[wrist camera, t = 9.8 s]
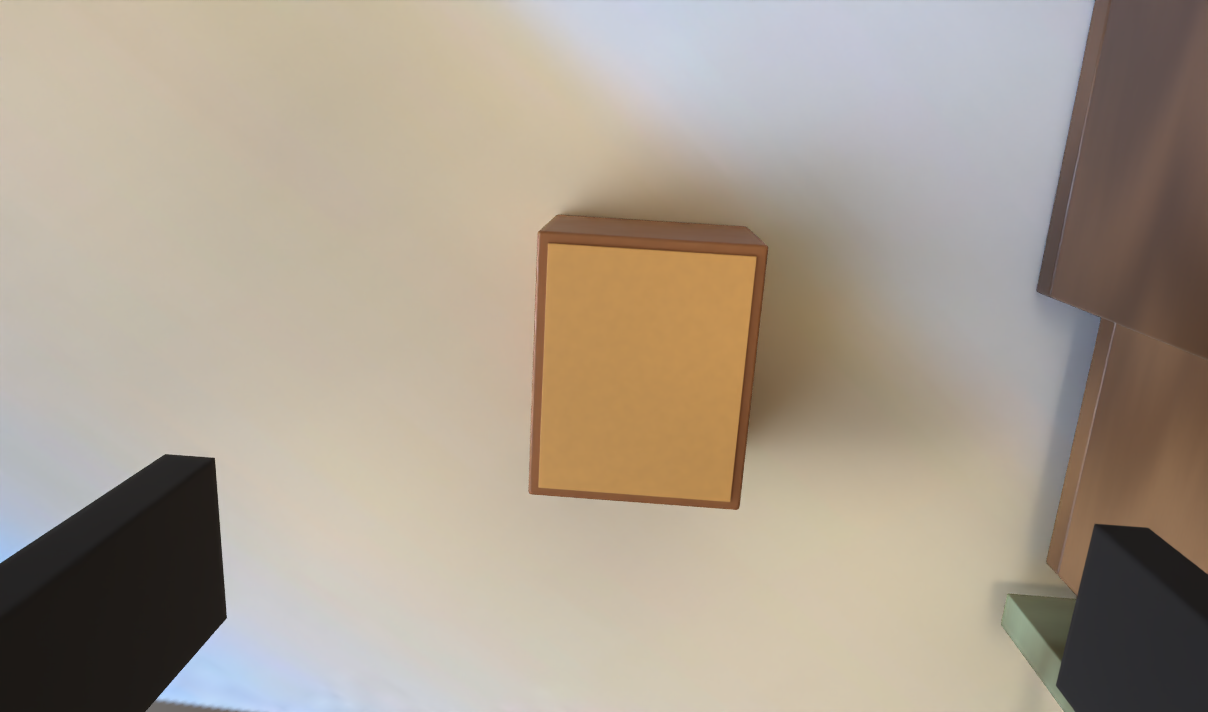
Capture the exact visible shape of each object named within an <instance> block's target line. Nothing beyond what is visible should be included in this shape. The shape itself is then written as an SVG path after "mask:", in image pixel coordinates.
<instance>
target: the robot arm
mask: <svg viewBox="0 0 1208 712" xmlns="http://www.w3.org/2000/svg"><path fill="white" fill-rule="evenodd" d="M226 618H227V615H226V601H225V588H224V575H223V561H222V548H221V534H220V521H219V508H218V494H217V481H216V468H215V458H208V457H195V456H181V455H168V454H165V455H163V456H162V457H160V458H159V459H157V460H156V461H154V462H153V463H151V464H150V465H148V466H147V467H145V468H144V469H142V470H141V471H139V472H138V473H136V474H135V475H133V476H132V477H130V478H129V479H127V480H126V481H124V482H123V483H121V484H120V485H118V486H117V487H115V488H113V489H112V490H110V491H109V492H107V493H106V494H104V495H103V496H101V497H100V498H98V499H97V500H95V501H94V502H92V503H91V504H89V505H88V506H86V507H85V508H83V509H82V510H80V511H79V512H77V513H76V514H74V515H73V516H71V517H70V518H68V519H67V520H65V521H64V522H62V523H61V524H59V525H58V526H56V527H55V528H53V529H52V530H50V531H48V532H47V533H45V534H44V535H42V536H41V537H39V538H38V539H36V540H35V541H33V542H32V543H30V544H29V545H27V546H26V547H24V548H23V549H21V550H20V551H18V552H17V553H15V554H14V555H12V556H11V557H9V558H8V559H6V560H5V561H3V562H2V563H0V712H145V711H146V710H147V709H148V708H149V707H150V706H151V704H152V703H153V702H154V701H155V700H156V699H157V698H158V696H159V695H160V694H161V693H162V692H163V691H164V690H165V688H166V687H167V686H168V685H169V684H170V683H171V682H172V680H173V679H174V678H175V677H176V676H177V675H178V673H179V672H180V671H181V670H182V669H183V668H184V667H185V665H186V664H187V663H188V662H189V661H190V660H191V659H192V657H193V656H194V655H195V654H196V653H197V652H198V651H199V649H200V648H201V647H202V646H203V645H204V644H205V642H206V641H207V640H208V639H209V638H210V637H211V636H212V634H213V633H214V632H215V631H216V630H217V629H218V628H219V626H220V625H221V624H222V623H223V622H224V621H225V620H226ZM1056 687H1057V688H1058V689H1059V691H1060V692H1061V693H1062V695H1063V696H1064V697H1065V699H1066V700H1067V701H1068V703H1069V704H1070V705H1071V707H1072V708H1073V710H1074V711H1075V712H1208V574H1207V573H1205V572H1204V571H1203V570H1202V569H1200V568H1199V567H1198V566H1197V565H1195V564H1194V563H1193V562H1191V561H1190V560H1189V559H1188V558H1186V557H1185V556H1184V555H1182V554H1181V553H1180V552H1179V551H1177V550H1176V549H1175V548H1173V547H1172V546H1171V545H1170V544H1168V543H1167V542H1166V541H1165V540H1163V539H1162V538H1161V537H1159V536H1158V535H1157V534H1156V533H1154V532H1153V531H1152V530H1150V529H1149V528H1146V527H1132V526H1119V525H1106V524H1094V528H1093V532H1092V536H1091V540H1090V545H1089V549H1088V553H1087V557H1086V561H1085V565H1084V570H1083V574H1082V578H1081V582H1080V586H1079V590H1078V595H1077V599H1076V603H1075V607H1074V611H1073V615H1072V620H1071V624H1070V628H1069V632H1068V636H1067V641H1066V645H1065V649H1064V653H1063V657H1062V661H1061V666H1060V670H1059V674H1058V678H1057V682H1056Z"/></svg>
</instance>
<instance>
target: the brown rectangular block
mask: <svg viewBox="0 0 1208 712" xmlns="http://www.w3.org/2000/svg"><path fill="white" fill-rule="evenodd" d="M767 255H768V246H767V245H766V244H765V243H764V242H763V241H762V240H760V239H759V238H758V237H757V236H756V235H755V234H754V233H753V232H752V231H751V230H750V229H748V228H747V227H744V226H728V225H712V224H697V223H681V222H665V221H649V220H633V219H618V218H602V217H586V216H570V215H556V216H555V217H554V218H553V219H552V220H551V221H550V222H549V223H548V224H546V225H545V226H544V227H543V228H542V229H541V230H540V231H539V232H538V239H537V267H536V295H535V323H534V351H533V379H532V406H531V434H530V462H529V490H528V491H529V494H534V495H548V496H561V497H574V498H588V499H601V500H614V501H628V502H641V503H654V504H668V505H681V506H694V507H708V508H721V509H734V510H737V509H739V507H740V498H741V489H742V480H743V471H744V462H745V453H746V444H747V435H748V426H749V417H750V408H751V399H752V390H753V381H754V372H755V363H756V354H757V345H758V336H759V327H760V318H761V309H762V300H763V291H764V282H765V273H766V264H767Z"/></svg>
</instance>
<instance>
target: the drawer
mask: <svg viewBox="0 0 1208 712" xmlns="http://www.w3.org/2000/svg"><path fill="white" fill-rule="evenodd" d="M1094 524H1106V525H1119V526H1132V527H1146V528H1149V529H1150V530H1152V531H1153V532H1154V533H1156V534H1157V535H1158V536H1159V537H1161V538H1162V539H1163V540H1165V541H1166V542H1167V543H1168V544H1170V545H1171V546H1172V547H1173V548H1175V549H1176V550H1177V551H1179V552H1180V553H1181V554H1182V555H1184V556H1185V557H1186V558H1188V559H1189V560H1190V561H1191V562H1193V563H1194V564H1195V565H1197V566H1198V567H1199V568H1200V569H1202V570H1203V571H1204V572H1205V573H1207V574H1208V360H1205V359H1203V358H1200V357H1198V356H1196V355H1193V354H1191V353H1188V352H1186V351H1183V350H1181V349H1178V348H1176V347H1173V346H1171V345H1168V344H1166V343H1163V342H1161V341H1158V340H1156V339H1153V338H1151V337H1148V336H1146V335H1143V334H1141V333H1138V332H1136V331H1133V330H1131V329H1128V328H1126V327H1123V326H1121V325H1118V324H1116V323H1113V322H1111V321H1108V320H1106V319H1103V318H1101V321H1100V326H1099V330H1098V334H1097V339H1096V343H1095V348H1094V352H1093V357H1092V361H1091V365H1090V370H1089V374H1088V379H1087V383H1086V388H1085V392H1084V396H1083V401H1082V405H1081V410H1080V414H1079V419H1078V423H1077V427H1076V432H1075V436H1074V441H1073V445H1072V450H1071V454H1070V458H1069V463H1068V467H1067V472H1066V476H1065V481H1064V485H1063V489H1062V494H1061V498H1060V503H1059V507H1058V512H1057V516H1056V520H1055V525H1054V529H1053V534H1052V538H1051V543H1050V547H1049V551H1048V556H1047V560H1046V562H1047V564H1048V565H1049V566H1050V567H1051V568H1052V569H1053V570H1054V571H1055V573H1056V574H1058V575H1059V577H1060V578H1061V579H1062V580H1063V581H1064V582H1065V583H1066V584H1067V586H1068V587H1069V588H1070V589H1071V590H1072V591H1073V592H1074V593H1075V594H1076V595H1078V590H1079V586H1080V582H1081V578H1082V574H1083V570H1084V565H1085V561H1086V557H1087V553H1088V549H1089V545H1090V540H1091V536H1092V532H1093V528H1094ZM1075 603H1076V599H1069V598H1056V597H1044V596H1031V595H1018V594H1007V599H1006V603H1005V608H1004V613H1003V617H1002V622H1001V625H1002V627H1003V628H1004V629H1005V631H1006V632H1007V634H1008V635H1009V636H1010V638H1011V639H1012V640H1013V642H1014V643H1015V645H1016V646H1017V647H1018V649H1019V650H1020V651H1021V653H1022V654H1023V656H1024V657H1025V658H1026V660H1027V661H1028V663H1029V664H1030V665H1031V667H1032V668H1033V669H1034V671H1035V672H1036V674H1037V675H1038V676H1039V678H1040V679H1041V680H1042V682H1043V683H1044V685H1045V686H1046V687H1047V689H1048V690H1049V692H1050V693H1051V694H1052V696H1053V697H1054V698H1055V700H1056V701H1057V703H1058V704H1059V705H1060V707H1061V708H1062V709H1063V711H1064V712H1075V711H1074V710H1073V708H1072V707H1071V705H1070V704H1069V703H1068V701H1067V700H1066V699H1065V697H1064V696H1063V695H1062V693H1061V692H1060V691H1059V689H1058V688H1057V687H1056V682H1057V678H1058V674H1059V670H1060V666H1061V661H1062V657H1063V653H1064V649H1065V645H1066V641H1067V636H1068V632H1069V628H1070V624H1071V620H1072V615H1073V611H1074V607H1075Z"/></svg>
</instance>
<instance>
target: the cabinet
mask: <svg viewBox="0 0 1208 712" xmlns="http://www.w3.org/2000/svg"><path fill="white" fill-rule="evenodd" d="M1037 292H1039V293H1041V294H1043V295H1046V296H1048V297H1052V298H1054V299H1056V300H1059V301H1061V302H1064V303H1066V304H1068V305H1071V306H1073V307H1076V308H1078V309H1081V310H1083V311H1086V312H1088V313H1091V314H1093V315H1096V316H1098V317H1101V318H1103V319H1106V320H1108V321H1111V322H1113V323H1116V324H1118V325H1121V326H1123V327H1126V328H1128V329H1131V330H1133V331H1136V332H1138V333H1141V334H1143V335H1146V336H1148V337H1151V338H1153V339H1156V340H1158V341H1161V342H1163V343H1166V344H1168V345H1171V346H1173V347H1176V348H1178V349H1181V350H1183V351H1186V352H1188V353H1191V354H1193V355H1196V356H1198V357H1200V358H1203V359H1205V360H1208V0H1095V4H1094V9H1093V14H1092V19H1091V24H1090V29H1089V34H1088V39H1087V44H1086V49H1085V54H1084V58H1083V63H1082V68H1081V73H1080V78H1079V83H1078V88H1077V93H1076V98H1075V103H1074V108H1073V113H1072V118H1071V123H1070V128H1069V133H1068V138H1067V143H1066V147H1065V152H1064V157H1063V162H1062V167H1061V172H1060V177H1059V182H1058V187H1057V192H1056V197H1055V202H1054V207H1053V212H1052V217H1051V222H1050V227H1049V232H1048V236H1047V241H1046V246H1045V251H1044V256H1043V261H1042V266H1041V271H1040V276H1039V281H1038V286H1037Z"/></svg>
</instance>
